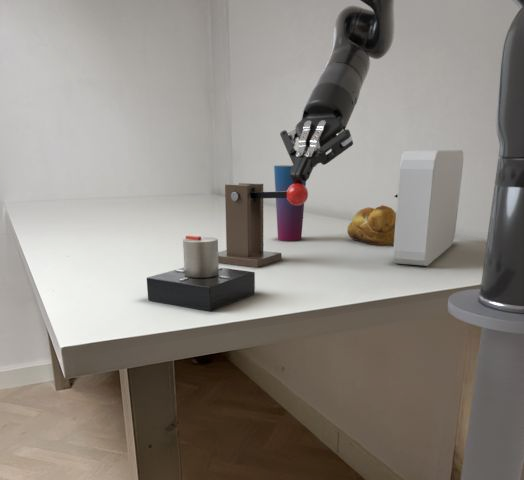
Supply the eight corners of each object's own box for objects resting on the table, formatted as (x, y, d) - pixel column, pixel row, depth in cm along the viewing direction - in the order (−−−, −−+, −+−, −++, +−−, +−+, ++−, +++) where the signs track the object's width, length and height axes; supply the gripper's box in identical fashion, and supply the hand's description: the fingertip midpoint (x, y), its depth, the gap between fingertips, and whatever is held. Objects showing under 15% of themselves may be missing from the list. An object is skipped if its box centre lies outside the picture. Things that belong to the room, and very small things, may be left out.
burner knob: (225, 273, 72) (224, 236, 71) (205, 279, 69) (203, 240, 67) (198, 269, 74) (197, 233, 73) (177, 275, 71) (175, 237, 69)
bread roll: (336, 240, 118) (338, 201, 115) (370, 236, 123) (372, 198, 120) (380, 248, 108) (383, 206, 105) (414, 243, 113) (418, 203, 110)
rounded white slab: (416, 241, 116) (424, 150, 110) (454, 243, 113) (464, 150, 107) (378, 265, 93) (386, 150, 86) (424, 269, 89) (436, 150, 83)
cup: (292, 242, 114) (293, 166, 109) (267, 239, 118) (267, 165, 113) (311, 238, 119) (313, 165, 114) (286, 235, 123) (287, 165, 118)
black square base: (255, 293, 74) (254, 270, 73) (210, 311, 66) (209, 285, 65) (196, 285, 79) (195, 263, 78) (147, 300, 71) (146, 276, 70)
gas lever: (311, 204, 88) (311, 182, 87) (302, 206, 86) (301, 183, 85) (243, 204, 95) (242, 184, 94) (232, 206, 92) (231, 185, 91)
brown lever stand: (281, 259, 97) (282, 183, 93) (257, 267, 91) (257, 186, 86) (234, 254, 102) (233, 182, 98) (208, 261, 96) (205, 184, 91)
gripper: (290, 83, 93) (252, 162, 87) (365, 78, 86) (328, 163, 80) (304, 118, 99) (269, 194, 93) (375, 117, 92) (341, 198, 87)
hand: (297, 180), depth 87 cm, fingers closed
